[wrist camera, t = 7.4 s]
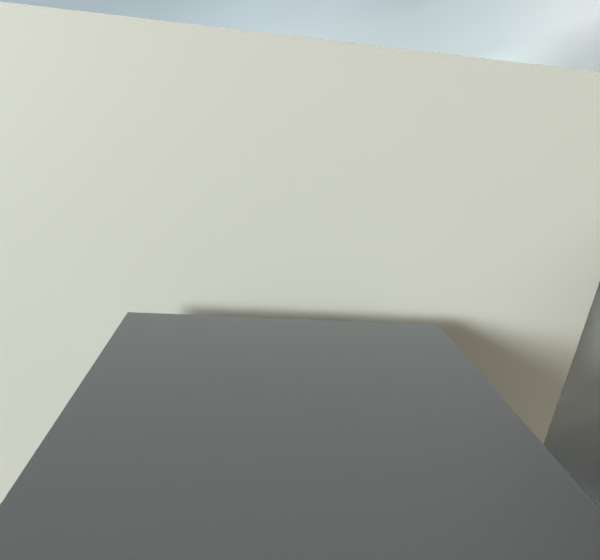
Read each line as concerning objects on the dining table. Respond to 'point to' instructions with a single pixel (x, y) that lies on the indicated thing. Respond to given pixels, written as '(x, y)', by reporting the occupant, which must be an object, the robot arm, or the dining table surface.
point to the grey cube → (291, 452)
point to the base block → (284, 198)
